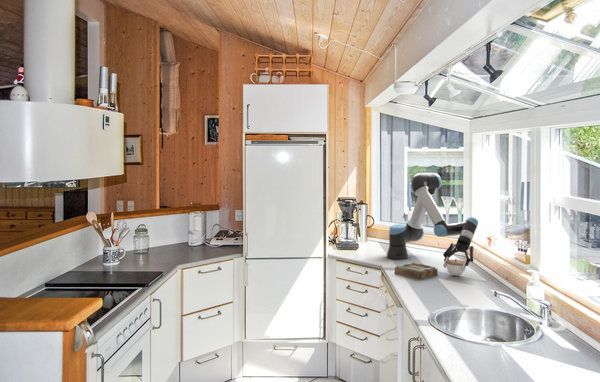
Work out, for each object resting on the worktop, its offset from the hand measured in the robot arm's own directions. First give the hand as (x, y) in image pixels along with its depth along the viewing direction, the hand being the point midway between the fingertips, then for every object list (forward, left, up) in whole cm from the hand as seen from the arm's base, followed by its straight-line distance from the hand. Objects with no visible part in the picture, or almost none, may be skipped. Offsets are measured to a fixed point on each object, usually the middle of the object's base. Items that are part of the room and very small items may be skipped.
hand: (453, 268), depth 256 cm
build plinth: (+14, -16, -5) cm, 22 cm away
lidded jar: (-3, -1, -4) cm, 5 cm away
